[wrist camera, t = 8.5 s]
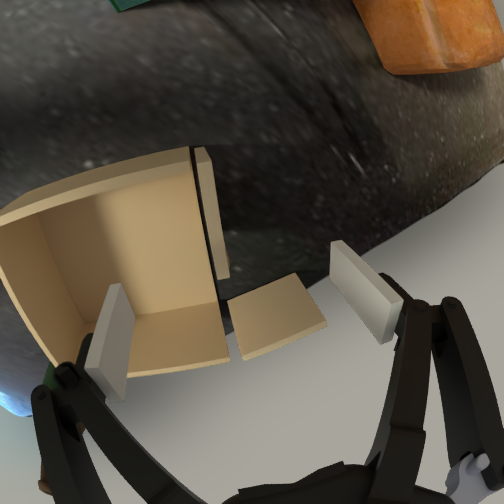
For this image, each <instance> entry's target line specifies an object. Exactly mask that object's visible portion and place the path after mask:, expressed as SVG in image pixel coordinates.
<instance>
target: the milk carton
mask: <svg viewBox="0 0 504 504" xmlns="http://www.w3.org/2000/svg"><path fill="white" fill-rule="evenodd" d="M109 1H110V3H111V4H112V6H113V7H114V9H115V10H116V11H117V12H120V11H123V10H125V9H128V8H130V7H133V6H136V5H138V4H141V3H144V2H147V1H150V0H109Z"/></svg>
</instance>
